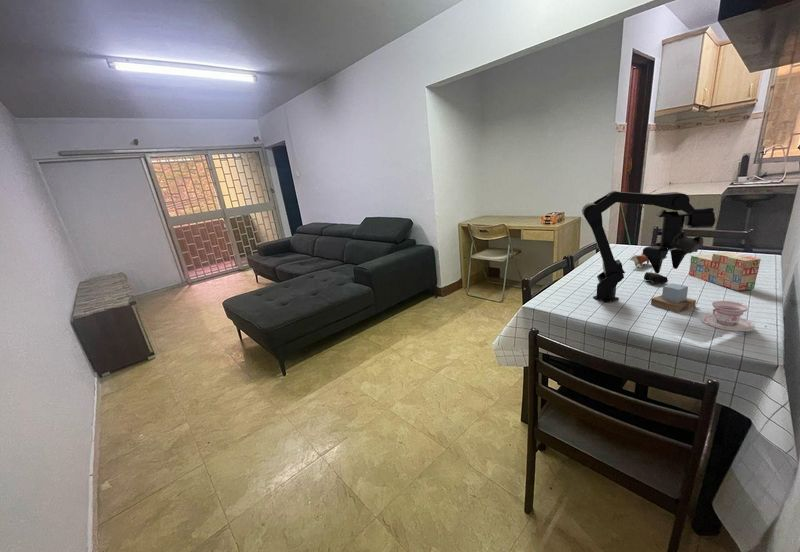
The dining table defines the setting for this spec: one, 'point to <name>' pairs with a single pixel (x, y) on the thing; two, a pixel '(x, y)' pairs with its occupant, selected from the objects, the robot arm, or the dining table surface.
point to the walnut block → (673, 304)
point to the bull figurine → (639, 259)
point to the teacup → (728, 316)
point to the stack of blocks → (726, 269)
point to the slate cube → (674, 292)
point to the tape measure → (655, 277)
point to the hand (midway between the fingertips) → (666, 270)
